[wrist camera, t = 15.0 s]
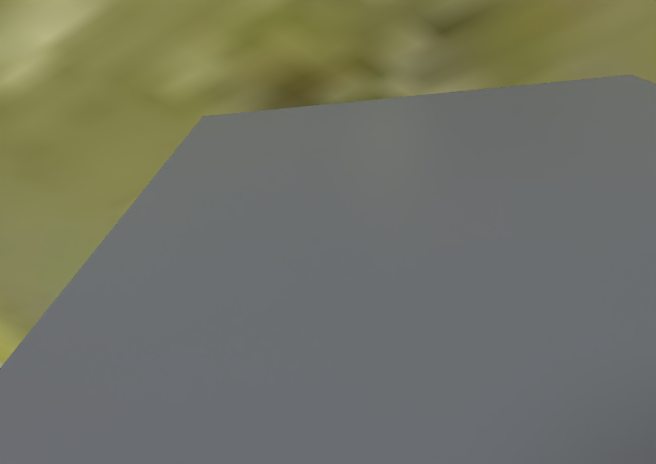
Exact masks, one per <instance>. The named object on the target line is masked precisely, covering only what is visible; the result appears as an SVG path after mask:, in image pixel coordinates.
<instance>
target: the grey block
mask: <svg viewBox="0 0 656 464" xmlns="http://www.w3.org/2000/svg"><path fill="white" fill-rule="evenodd" d="M0 464H656V84H655V83H652V82H649V81H647V80H644V79H641V78H639V77H636V76H633V75H624V76H613V77H603V78H593V79H582V80H572V81H562V82H552V83H541V84H531V85H521V86H510V87H500V88H490V89H480V90H469V91H459V92H449V93H438V94H428V95H418V96H407V97H397V98H387V99H377V100H366V101H356V102H346V103H335V104H325V105H315V106H305V107H294V108H284V109H274V110H263V111H253V112H243V113H232V114H222V115H212V116H203V117H202V118H201V119H200V121H199V122H198V123H197V124H196V126H195V127H194V128H193V129H192V131H191V132H190V133H189V134H188V136H187V137H186V138H185V139H184V141H183V142H182V143H181V144H180V145H179V147H178V148H177V149H176V150H175V152H174V153H173V154H172V155H171V157H170V158H169V159H168V160H167V162H166V163H165V164H164V165H163V167H162V168H161V169H160V170H159V172H158V173H157V174H156V175H155V177H154V178H153V179H152V180H151V182H150V183H149V184H148V185H147V186H146V188H145V189H144V190H143V191H142V193H141V194H140V195H139V196H138V198H137V199H136V200H135V201H134V203H133V204H132V205H131V206H130V208H129V209H128V210H127V211H126V213H125V214H124V215H123V216H122V218H121V219H120V220H119V221H118V223H117V224H116V225H115V226H114V228H113V229H112V230H111V231H110V232H109V234H108V235H107V236H106V237H105V239H104V240H103V241H102V242H101V244H100V245H99V246H98V247H97V249H96V250H95V251H94V252H93V254H92V255H91V256H90V257H89V259H88V260H87V261H86V262H85V264H84V265H83V266H82V267H81V269H80V270H79V271H78V272H77V273H76V275H75V276H74V277H73V278H72V280H71V281H70V282H69V283H68V285H67V286H66V287H65V288H64V290H63V291H62V292H61V293H60V295H59V296H58V297H57V298H56V300H55V301H54V302H53V303H52V305H51V306H50V307H49V308H48V310H47V311H46V312H45V313H44V315H43V316H42V317H41V318H40V319H39V321H38V322H37V323H36V324H35V326H34V327H33V328H32V329H31V331H30V332H29V333H28V334H27V336H26V337H25V338H24V339H23V341H22V342H21V343H20V344H19V346H18V347H17V348H16V349H15V351H14V352H13V353H12V354H11V356H10V357H9V358H8V359H7V360H6V362H5V363H4V364H3V365H2V367H1V368H0Z"/></svg>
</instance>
